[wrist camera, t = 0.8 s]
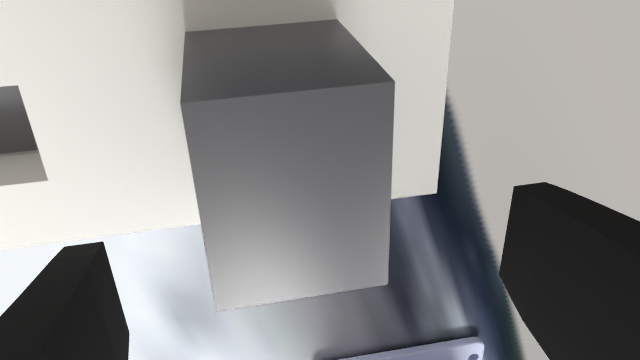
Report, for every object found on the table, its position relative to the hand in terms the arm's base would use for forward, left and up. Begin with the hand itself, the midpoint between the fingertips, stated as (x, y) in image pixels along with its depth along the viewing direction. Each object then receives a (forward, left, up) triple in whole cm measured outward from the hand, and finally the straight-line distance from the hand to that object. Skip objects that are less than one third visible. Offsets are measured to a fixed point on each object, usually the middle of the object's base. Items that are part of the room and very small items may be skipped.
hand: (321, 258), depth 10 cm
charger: (0, 0, -9) cm, 9 cm away
